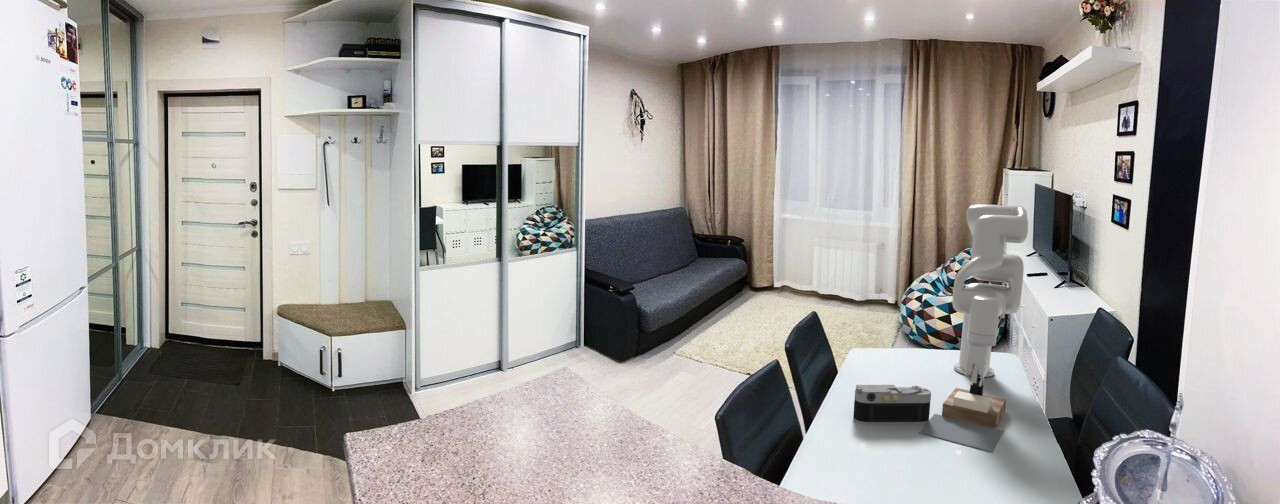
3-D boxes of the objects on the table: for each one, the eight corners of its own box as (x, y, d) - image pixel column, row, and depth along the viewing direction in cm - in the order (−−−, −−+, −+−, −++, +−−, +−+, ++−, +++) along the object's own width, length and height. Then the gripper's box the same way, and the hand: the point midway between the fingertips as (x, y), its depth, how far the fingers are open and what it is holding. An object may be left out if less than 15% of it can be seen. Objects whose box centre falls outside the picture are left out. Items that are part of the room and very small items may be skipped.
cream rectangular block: (957, 398, 195) (958, 390, 195) (991, 406, 190) (992, 398, 189) (952, 405, 191) (953, 396, 190) (987, 413, 185) (988, 404, 185)
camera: (918, 411, 196) (921, 379, 194) (933, 425, 186) (936, 392, 185) (846, 411, 195) (848, 380, 194) (858, 425, 186) (860, 392, 184)
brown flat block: (954, 399, 205) (955, 387, 204) (1005, 411, 196) (1006, 398, 196) (941, 416, 192) (942, 403, 192) (994, 429, 184) (996, 416, 183)
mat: (934, 414, 194) (934, 413, 193) (1002, 431, 183) (1002, 430, 183) (919, 433, 181) (919, 432, 181) (991, 452, 170) (991, 451, 170)
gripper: (973, 329, 199) (967, 387, 202) (961, 341, 187) (956, 402, 190) (1000, 334, 194) (994, 393, 197) (991, 346, 183) (984, 408, 186)
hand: (975, 397), depth 194 cm, fingers closed
